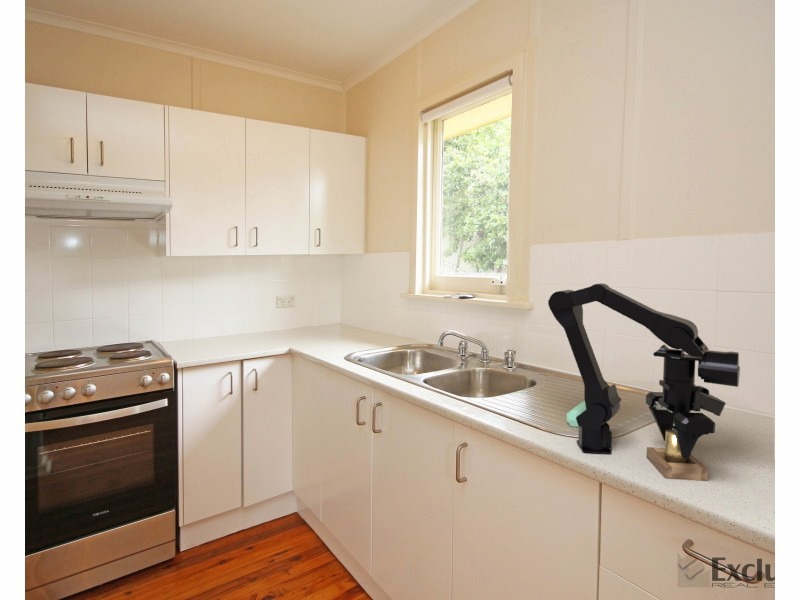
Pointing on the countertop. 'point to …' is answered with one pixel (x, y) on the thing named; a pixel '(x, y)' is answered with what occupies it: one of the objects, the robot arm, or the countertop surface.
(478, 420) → the countertop surface
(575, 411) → the container
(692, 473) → the jig
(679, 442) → the robot arm
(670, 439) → the peg
